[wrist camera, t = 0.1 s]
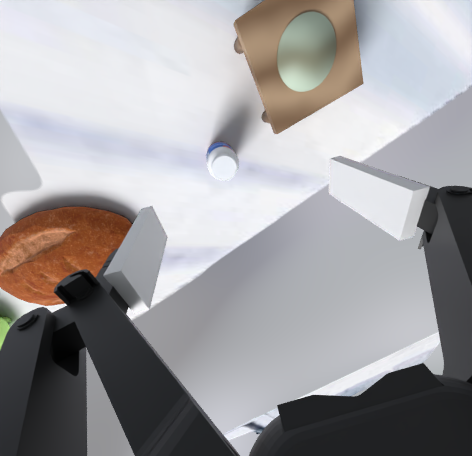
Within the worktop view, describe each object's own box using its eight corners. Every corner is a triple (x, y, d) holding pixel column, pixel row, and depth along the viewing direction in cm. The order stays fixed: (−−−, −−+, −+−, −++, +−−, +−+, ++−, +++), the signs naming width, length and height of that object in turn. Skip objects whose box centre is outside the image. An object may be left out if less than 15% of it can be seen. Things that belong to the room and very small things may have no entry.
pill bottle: (234, 141, 39) (243, 150, 30) (233, 169, 41) (241, 185, 33) (205, 140, 38) (207, 150, 29) (206, 169, 40) (208, 185, 32)
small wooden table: (226, 40, 31) (235, 19, 23) (310, -17, 29) (348, -58, 22) (262, 129, 38) (277, 134, 31) (330, 88, 36) (364, 83, 29)
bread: (-30, 251, 42) (-80, 283, 34) (90, 175, 38) (64, 191, 30) (67, 307, 54) (45, 339, 46) (166, 253, 50) (161, 279, 42)
